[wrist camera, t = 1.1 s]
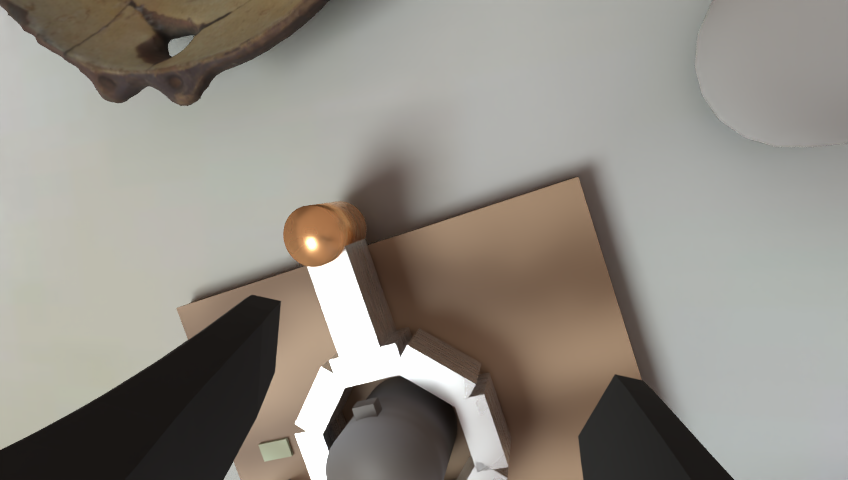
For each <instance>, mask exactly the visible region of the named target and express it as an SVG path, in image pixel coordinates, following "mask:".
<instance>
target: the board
mask: <svg viewBox="0 0 848 480" xmlns="http://www.w3.org/2000/svg"><path fill="white" fill-rule="evenodd" d="M367 246H368V249H369V252H370V255H371V258H372V261H373V264H374V266H375V269H376V272H377V275H378V278H379V281H380V284H381V287H382V290H383V293H384V295H385V298H386V301H387V304H388V307H389V310H390V313H391V316H392V319H393V322H394V325H395V327H396V330H399V329H403V328H406V327H409V329H410V332H411V335H412V337H413V336H414V335H415V334H416V332H417V331H418V330H419V328H420V329H422V330H423V331H425V332H427V333H429V334H431V335H432V336H434V337H436V338H438V339H440V340H441V341H443V342H445V343H447V344H448V345H450V346H452V347H454V348H456V349H457V350H459V351H461V352H463V353H464V354H466V355H468V356H470V357H472V358H473V359H475V360H477V361H479V362H480V363H482V364H481V368H480V372H479V374H483V373H488V372H489V373H490V376H491V379H492V382H493V385H494V388H495V391H496V394H497V397H498V400H499V403H500V406H501V409H502V412H503V415H504V418H505V421H506V424H507V427H508V430H509V433H510V436H511V445H510V456H509V468H508V478H507V480H583V473H582V466H581V458H580V449H579V440H578V436H579V434H580V432H581V430H582V429H583V427H584V425H585V424H586V422H587V420H588V419H589V417H590V415H591V414H592V412H593V410H594V409H595V407H596V405H597V404H598V402H599V400H600V398H601V397H602V395H603V393H604V392H605V390H606V388H607V387H608V385H609V383H610V382H611V380H612V378H613V377H614V375H615V374H616V375H621V376H625V377H630V378H634V379H639V380H642V379H641V375H640V372H639V369H638V366H637V363H636V359H635V356H634V353H633V350H632V347H631V344H630V340H629V337H628V334H627V331H626V328H625V324H624V321H623V318H622V315H621V312H620V308H619V305H618V302H617V299H616V296H615V292H614V289H613V286H612V283H611V280H610V276H609V273H608V270H607V267H606V264H605V260H604V257H603V254H602V251H601V248H600V244H599V241H598V238H597V235H596V232H595V228H594V225H593V222H592V219H591V216H590V212H589V209H588V206H587V203H586V200H585V196H584V193H583V190H582V187H581V184H580V180H579V177H574V178H571V179H568V180H565V181H562V182H559V183H556V184H553V185H550V186H547V187H544V188H541V189H538V190H535V191H531V192H528V193H525V194H522V195H519V196H516V197H513V198H510V199H507V200H504V201H501V202H498V203H495V204H492V205H489V206H486V207H483V208H480V209H476V210H473V211H470V212H467V213H464V214H461V215H458V216H455V217H452V218H449V219H446V220H443V221H440V222H437V223H434V224H431V225H428V226H425V227H421V228H418V229H415V230H412V231H409V232H406V233H403V234H400V235H397V236H394V237H391V238H388V239H385V240H382V241H379V242H376V243H373V244H370V245H367ZM250 295H256V296H261V297H265V298H270V299H274V300H279V301H281V308H280V320H279V332H278V344H277V355H276V367H275V374H274V376H273V379H272V381H271V384H270V386H269V389H268V391H267V394H266V396H265V399H264V401H263V404H262V406H261V408H260V411H259V413H258V416H257V418H256V420H255V422H254V424H253V426H252V427H251V429H250V431H249V433H248V435H247V437H246V439H245V441H244V442H243V444H242V446H241V448H240V450H239V452H238V454H237V456H236V457H235V459H234V463H235V466H236V469H237V471H238V474H239V477H240V479H241V480H311V477H310V474H309V472H308V469H307V466H306V463H305V461H304V458H303V455H302V452H301V450H300V447H299V444H298V441H297V439H296V436H295V434H296V433H297V431H298V430H299V429H300V428H301V427H299V426H298V425H296V424H295V423H296V421H297V419H298V416H299V414H300V412H301V410H302V408H303V405H304V403H305V401H306V399H307V397H308V395H309V392H310V390H311V388H312V386H313V384H314V381H315V379H316V377H317V375H318V373H319V371H320V368H321V367H322V366H323V365H324V364H325V363H326V362H327V361H328V360H329V359H330V358H332V357H333V356H334V355H335V354H336V353H337V349H336V346H335V343H334V341H333V338H332V335H331V332H330V329H329V327H328V324H327V321H326V318H325V315H324V312H323V310H322V307H321V304H320V301H319V298H318V295H317V293H316V290H315V287H314V284H313V281H312V278H311V276H310V273H309V270H308V267H307V266H302V267H299V268H296V269H293V270H290V271H287V272H284V273H281V274H278V275H275V276H272V277H269V278H266V279H263V280H259V281H256V282H253V283H250V284H247V285H244V286H241V287H238V288H235V289H232V290H229V291H226V292H223V293H220V294H217V295H214V296H211V297H208V298H204V299H201V300H198V301H195V302H192V303H189V304H187V305H184V306H181V307H179V308H177V311H178V314H179V316H180V319H181V322H182V324H183V327H184V330H185V332H186V335H187V338H188V340H189V339H190V338H192V337H193V336H195V335H196V334H198V333H199V332H200V331H202V330H203V329H204V328H206V327H207V326H209V325H210V324H211V323H213V322H214V321H216V320H217V319H218V318H220V317H221V316H222V315H224V314H225V313H226V312H228V311H229V310H230V309H232V308H233V307H234V306H236V305H237V304H238V303H240V302H241V301H243V300H244V299H245V298H247V297H249V296H250ZM342 413H343V416H344V419H345V422H346V424H347V426H346V427H345V428H344V430H343V431H342V432H341V434H340V435H339V436H338V438H337V439H336V440H335V442H334V443H333V445H332V446H331V448H330V450H329V453H328V455H327V460H326V479H327V480H456V479H457V477H458V476H459V474H460V472H461V471H462V469H463V467H464V465H465V464H466V462H467V460H468V459H469V457H470V455H471V453H470V450H469V447H468V444H467V441H466V438H465V435H464V432H463V429H462V426H461V423H460V420H459V417H458V414H457V411H456V409H455V407H454V406H452V405H451V404H449V403H447V402H445V401H444V400H442V399H440V398H439V397H437V396H435V395H433V394H432V393H430V392H428V391H427V390H425V389H423V388H421V387H420V386H418V385H416V384H415V383H413V382H411V381H409V380H408V379H406V378H404V377H403V376H401V375H397V376H392V377H388V378H384V379H380V380H375V381H371V382H367V383H363V384H358V385H354V387H353V389H352V391H351V393H350V395H349V397H348V399H347V401H346V403H345V405H344V407H343V409H342Z"/></svg>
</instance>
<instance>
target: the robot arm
mask: <svg viewBox="0 0 848 480" xmlns="http://www.w3.org/2000/svg"><path fill="white" fill-rule="evenodd" d="M280 308H281V301H279V300H274V299H270V298H265V297H261V296H256V295H250V296H249V297H247V298H245V299H244V300H243V301H241V302H240V303H238V304H237V305H236V306H234V307H233V308H232V309H230V310H229V311H228V312H226V313H225V314H224V315H222V316H221V317H220V318H218V319H217V320H216V321H214V322H213V323H211V324H210V325H209V326H207V327H206V328H204V329H203V330H202V331H200V332H199V333H198V334H196V335H195V336H193V337H192V338H190V339H189V340H187V341H186V342H184V343H183V344H182V345H180V346H179V347H177V348H176V349H174V350H173V351H171V352H170V353H168V354H167V355H166V356H164V357H163V358H161V359H160V360H158V361H157V362H155V363H154V364H152V365H150V366H149V367H147V368H146V369H144V370H142V371H141V372H139V373H138V374H136V375H134V376H133V377H131V378H130V379H128V380H126V381H125V382H123V383H122V384H120V385H118V386H117V387H115V388H114V389H112V390H110V391H109V392H107V393H105V394H104V395H102V396H100V397H99V398H97V399H95V400H93V401H92V402H90V403H88V404H87V405H85V406H83V407H81V408H80V409H78V410H76V411H74V412H72V413H71V414H69V415H67V416H65V417H63V418H61V419H60V420H58V421H56V422H54V423H52V424H50V425H48V426H47V427H45V428H43V429H41V430H39V431H37V432H35V433H33V434H32V435H30V436H28V437H26V438H24V439H22V440H20V441H18V442H16V443H14V444H12V445H10V446H8V447H6V448H4V449H2V450H0V480H224V478H225V476H226V474H227V472H228V470H229V469H230V467H231V465H232V463H233V461H234V459H235V457H236V456H237V454H238V452H239V450H240V448H241V446H242V444H243V442H244V441H245V439H246V437H247V435H248V433H249V431H250V429H251V427H252V426H253V424H254V422H255V420H256V418H257V416H258V413H259V411H260V408H261V406H262V404H263V401H264V399H265V396H266V394H267V391H268V389H269V386H270V384H271V381H272V379H273V376H274V374H275V367H276V355H277V344H278V332H279V320H280ZM578 440H579V449H580V458H581V466H582V473H583V480H734V479H733V478H732V477H731V476H730V475H729V474H728V472H727V471H726V470H725V469H724V468H723V467H722V466H721V465H720V464H719V463H718V462H717V461H716V459H715V458H714V457H713V456H712V455H711V454H710V453H709V452H708V451H707V450H706V448H705V447H704V446H703V445H702V444H701V443H700V442H699V441H698V440H697V439H696V437H695V436H694V435H693V434H692V433H691V432H690V431H689V430H688V429H687V427H686V426H685V425H684V424H683V423H682V422H681V421H680V420H679V419H678V417H677V416H676V415H675V414H674V413H673V412H672V411H671V410H670V409H669V408H668V406H667V405H666V404H665V403H664V402H663V401H662V400H661V399H660V398H659V397H658V396H657V395H656V394H655V393H654V392H653V390H652V389H651V388H650V387H649V386H648V385H647V384H646V383H645V382H644V381H642V380H639V379H634V378H630V377H625V376H621V375H616V374H615V375H614V377H613V378H612V380H611V382H610V383H609V385H608V387H607V388H606V390H605V392H604V393H603V395H602V397H601V398H600V400H599V402H598V404H597V405H596V407H595V409H594V410H593V412H592V414H591V415H590V417H589V419H588V420H587V422H586V424H585V425H584V427H583V429H582V430H581V432H580V434H579V436H578Z"/></svg>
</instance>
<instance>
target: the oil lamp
mask: <svg viewBox="0 0 848 480" xmlns="http://www.w3.org/2000/svg"><path fill="white" fill-rule="evenodd" d="M328 1H329V0H0V6H1V7H3V8H4V9H5V10H6V11H7V12H8V15H10V16H11V17H12V18H13V19H14V20H15V21H17V22H18V24H20V25H21V27H22V28H23V30H24V31H26V32H28V33H30V34H32V35H34V36H35V37H36V40H37V42H38V43H39V44H40V45H42V46H44V47H46V48H48V49H49V50H51V51H52V52H54V53H56V54H58V55H60V56H61V57H63V58H64V59H65V60H67V61H68V62H69V63H71V64H73V65H74V66H76V67H77V68H79V70H80V71H81V72H82V73H83V74H85V75H86V76H87V77H88V78H89V79H90V80H91V81H92V83H93V84H94V86H95V88H96V90H97V91H98V92H99V94H100V95H101V96H102V98H103V99H105V100H107V101H110V102H115V103H123V102H125V101H127V100H128V99H129V98H131V97H133V96H134V95H136V94H138V93H139V92H140V91H141V90H142V89H144V88H145V87H147V86H151V87H153V88H156V89H157V90H159V91H161V92H162V93H163V94H164V95H166V96H167V97H168V98H169V99H170V100H171V101H172V102H174V103H176V104H179V105H180V106H188V105H191V104H193V103H194V102H196V101H198V100H199V99H200V97H201V95H202V93H203V92H204V91H205V90H206V89H207V87H209V85H210V82H211V81H212V80H213V78H214V77H215V76H216V75H218V74H219V73H221V72H222V71H225V70H228V69H230V68H233V67H235V66H238V65H241V64H243V63H245V62H247V61H249V60H252V59H253V58H255V57H257V56H259V55H261V54H263V53H265V52H266V51H268V50H270V49H271V48H272V47H274V46H275V45H277V44H278V43H280V42H281V41H283V40H284V39H286V38H288V37H289V36H290V35H292V34H293V33H294V32H296V31H297V30H298V29H299V28H301V27H302V26H303V25H304V24H306V23H307V22H308V21H309V20H310V19H311V18H312V17H313V16H315V14H316V13H318V12H319V11H320V10H321V9H322V8H323V7H324V6H325V4H326V3H327V2H328ZM189 35H195V36H194V38H193V40H192V41H191V42H190V43H189V45H188V46H187V47H186V48H185V49H184V50H183V51H181V52H180V53H178V54H177V55H175V56H173V57H171V56H170V55H169V51H168V43H169V42H170V41H171V40H172V39H176V38H180V37H184V36H189Z"/></svg>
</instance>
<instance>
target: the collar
mask: <svg viewBox="0 0 848 480" xmlns="http://www.w3.org/2000/svg"><path fill="white" fill-rule="evenodd" d="M283 235H284V242H285V246H286V248H287V250H288V252H289V254H290V255H291V256H292V257H293V258H294V259H295V260H296V261H297V262H299V263H300V264H302V265H305V266H307V267H308V270H309V273H310V276H311V278H312V281H313V284H314V287H315V290H316V293H317V295H318V298H319V301H320V304H321V307H322V310H323V312H324V315H325V318H326V321H327V324H328V327H329V329H330V332H331V335H332V338H333V341H334V343H335V346H336V349H337V353H336V354H335V355H334V356H333V357H332V358H330V359H329V360H328V361H327V362H326V363H325V364H324V365H323V366H322V367H321V368H320V371H319V373H318V375H317V377H316V379H315V381H314V384H313V386H312V388H311V390H310V392H309V395H308V397H307V399H306V401H305V403H304V405H303V408H302V410H301V412H300V414H299V416H298V419H297V421H296V423H295V424H296V425H298V426H299V427H301V428H300V429H299V430H298V431H297V433H296V434H295V436H296V439H297V441H298V444H299V447H300V450H301V452H302V455H303V458H304V461H305V463H306V466H307V469H308V472H309V474H310V477H311V480H327V479H326V460H327V455H328V453H329V450H330V448H331V446H332V445H333V443H334V442H335V440H336V439H337V438H338V436H339V435H340V434H341V432H342V431H343V430H344V428H345V427H346V426H347V424H346V422H345V419H344V416H343V413H342V409H343V407H344V405H345V403H346V401H347V399H348V397H349V395H350V393H351V391H352V389H353V387H354V385H358V384H363V383H367V382H371V381H375V380H380V379H384V378H388V377H392V376H397V375H401V376H403V377H404V378H406V379H408V380H409V381H411V382H413V383H415V384H416V385H418V386H420V387H421V388H423V389H425V390H427V391H428V392H430V393H432V394H433V395H435V396H437V397H439V398H440V399H442V400H444V401H445V402H447V403H449V404H451V405H452V406H454V407H455V409H456V411H457V414H458V417H459V420H460V423H461V426H462V429H463V432H464V435H465V438H466V441H467V444H468V447H469V450H470V453H471V455H470V457H469V459H468V460H467V462H466V464H465V465H464V467H463V469H462V471H461V472H460V474H459V476H458V477H457V479H456V480H507V478H508V468H509V456H510V445H511V436H510V433H509V430H508V427H507V424H506V421H505V418H504V415H503V412H502V409H501V406H500V403H499V400H498V397H497V394H496V391H495V388H494V385H493V382H492V379H491V376H490V373H489V372H488V373H483V374H479V372H480V368H481V364H482V363H480V362H479V361H477V360H475V359H473V358H472V357H470V356H468V355H466V354H464V353H463V352H461V351H459V350H457V349H456V348H454V347H452V346H450V345H448V344H447V343H445V342H443V341H441V340H440V339H438V338H436V337H434V336H432V335H431V334H429V333H427V332H425V331H423V330H422V329H420V328H419V330H418V331H417V332H416V334H415V335H414V336H413V337H412V335H411V332H410V329H409V327H406V328H403V329H399V330H396V327H395V325H394V322H393V319H392V316H391V313H390V310H389V307H388V304H387V301H386V298H385V295H384V293H383V290H382V287H381V284H380V281H379V278H378V275H377V272H376V269H375V266H374V264H373V261H372V258H371V255H370V252H369V249H368V246H367V243H366V240H365V237H366V223H365V220H364V217H363V215H362V214H361V212H360V211H359V210H358V209H357V208H356V207H355V206H353V205H352V204H350V203H347V202H341V201H338V202H331V203H324V204H316V205H309V206H303V207H300V208H298V209H296V210H295V211H294V212H292V213H291V215H290V216H289V217H288V219H287V221H286V223H285V226H284V233H283Z"/></svg>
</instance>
